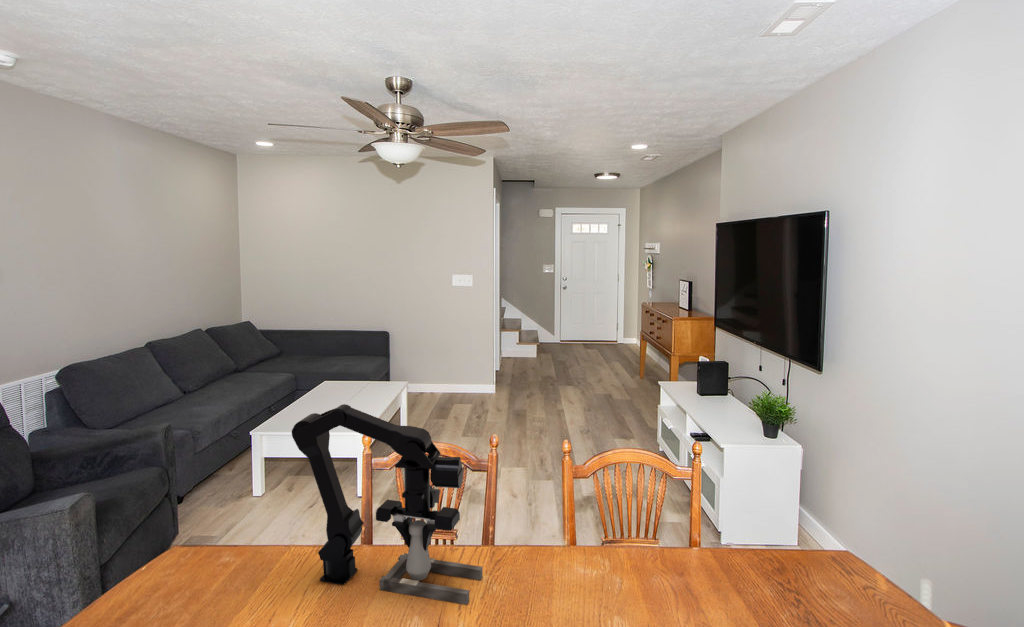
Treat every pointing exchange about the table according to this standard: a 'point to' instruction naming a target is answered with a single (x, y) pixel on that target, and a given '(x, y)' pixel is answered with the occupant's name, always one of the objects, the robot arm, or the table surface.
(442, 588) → the guide rails
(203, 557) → the table surface
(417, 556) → the salt shaker
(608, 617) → the table surface
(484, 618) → the table surface
